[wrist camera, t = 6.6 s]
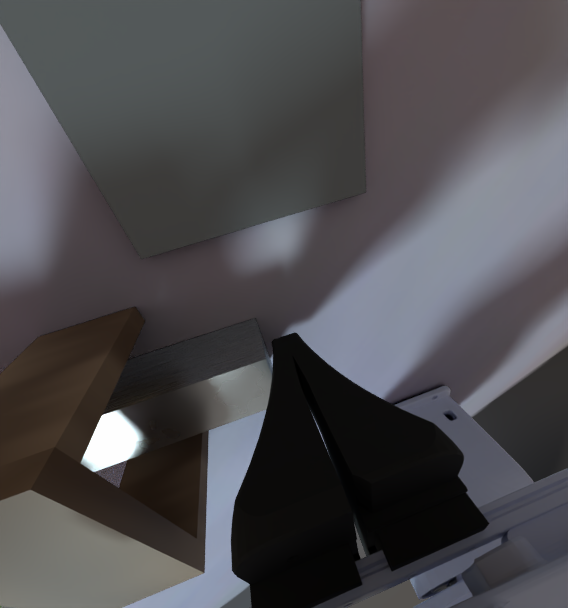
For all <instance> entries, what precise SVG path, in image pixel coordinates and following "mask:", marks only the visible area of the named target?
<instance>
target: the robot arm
mask: <svg viewBox="0 0 568 608" xmlns="http://www.w3.org/2000/svg"><path fill="white" fill-rule="evenodd" d="M272 346H273V371H272V381H271V388H270V395H269V400H268V405H267V410H266V414H265V418H264V422H263V425H262V429H261V433H260V436H259V439H258V442H257V445H256V448H255V451H254V454H253V457H252V460H251V462H250V465H249V468H248V470H247V473H246V475H245V478H244V480H243V482H242V485H241V487H240V490H239V492H238V495H237V497H236V499H235V504H234V511H233V519H232V532H231V553H232V571H233V573H234V574H235V575H236V576H237V577H238V578H240V579H242V580H244V581H245V582H247V583H249V584H250V590H251V591H250V592H251V604H252V607H251V608H348V607H350V606H352V605H354V604H356V603H359V602H361V601H363V600H365V599H367V598H370V597H372V596H374V595H376V594H378V593H381V592H383V591H385V590H387V589H389V588H391V587H394V586H396V585H398V584H400V583H402V582H405V581H407V580H409V579H410V581H411V583H412V585H413V588H414V590H415V592H416V594H417V596H418V598H419V600H421V599H426V598H429V597H431V596H432V597H431V598H429V599H427V600H426V601H424V602H422V603H420V604H418V605H416V606H414V607H413V608H568V468H567V469H565V470H562V471H560V472H558V473H556V474H553V475H551V476H549V477H547V478H544V479H542V480H540V481H537V482H535V483H534V482H533V481H532V479H531V478H530V477H529V476H528V474H527V473H526V472H525V471H524V470H523V469H522V468H521V467H520V465H519V464H518V463H517V462H516V461H514V459H512V457H511V456H510V455H509V454H508V453H507V452H506V451H505V450H504V449H503V448H502V447H501V446H500V445H499V444H498V443H497V442H495V440H494V439H493V438H491V436H489V434H488V433H486V431H484V430H483V429H482V428H481V427H480V426H479V425H478V424H477V423H476V422H475V421H474V420H473V419H472V418H471V417H470V416H469V415H468V414H467V413H466V412H465V411H464V410H463V409H462V408H461V407H460V406H459V405H458V404H457V403H456V402H455V401H454V400H453V399H452V398H451V397H450V392H451V390H450V389H449V388H448V387H447V386H442V387H439V388H437V389H434V390H432V391H429V392H426V393H424V394H421V395H419V396H416V397H414V398H411V399H408V400H406V401H403V402H401V403H398V404H395V405H393V404H390V403H388V402H387V401H385V400H383V399H381V398H379V397H377V396H376V395H374V394H372V393H370V392H368V391H366V390H365V389H363V388H362V387H360V386H358V385H357V384H355V383H354V382H352V381H351V380H349V379H348V378H346V377H345V376H343V375H342V374H340V373H339V372H338V371H336V370H335V369H334V368H333V367H331V366H330V365H329V364H327V363H326V362H325V361H324V360H323V359H322V358H320V357H319V356H318V355H317V354H316V353H315V352H314V351H313V350H312V349H311V348H310V347H309V346H308V345H307V344H306V343H305V342H304V341H303V340H302V339H301V338H300V336H299V335H298V334H297V333H292V334H289V335H286V336H283V337H280V338H277V339H274V340H273V341H272ZM311 412H312V413H311ZM312 414H313V415H312ZM313 416H314V418H315V420H314V418H313ZM315 421H316V423H317V425H318V427H319V429H320V432H321V434H322V437H323V439H324V442H325V444H324V442H323V440H322V437H321V435H320V432H319V430H318V427H317V425H316V423H315ZM325 445H326V447H327V449H326V447H325ZM327 450H328V451H327ZM328 453H329V454H328ZM329 455H330V456H329ZM354 523H355V526H356V529H357V532H358V534H359V537H360V540H361V543H362V545H363V548H364V551H365V554H366V556H367V557H365V558H363V559H360V556H359V553H358V548H357V543H356V539H357V537H356V531H355V526H354Z"/></svg>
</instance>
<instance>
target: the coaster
mask: <svg viewBox="0 0 568 608" xmlns="http://www.w3.org/2000/svg"><path fill="white" fill-rule="evenodd" d="M0 24H1V26H2V28H3V29H4V31H5V33H6V34H7V36H8V38H9V39H10V41H11V43H12V44H13V46H14V48H15V49H16V51H17V53H18V54H19V56H20V58H21V59H22V61H23V63H24V64H25V66H26V68H27V69H28V71H29V73H30V74H31V76H32V78H33V79H34V81H35V83H36V84H37V86H38V88H39V89H40V91H41V93H42V94H43V96H44V98H45V99H46V101H47V103H48V104H49V106H50V108H51V109H52V111H53V113H54V114H55V116H56V118H57V119H58V121H59V123H60V124H61V126H62V128H63V129H64V131H65V133H66V134H67V136H68V138H69V139H70V141H71V143H72V144H73V146H74V148H75V149H76V151H77V153H78V154H79V156H80V158H81V159H82V161H83V163H84V164H85V166H86V168H87V169H88V171H89V173H90V174H91V176H92V178H93V179H94V181H95V183H96V184H97V186H98V188H99V189H100V191H101V193H102V195H103V196H104V198H105V200H106V201H107V203H108V205H109V206H110V208H111V210H112V211H113V213H114V215H115V216H116V218H117V220H118V221H119V223H120V225H121V226H122V228H123V230H124V231H125V233H126V235H127V236H128V238H129V240H130V241H131V243H132V245H133V246H134V248H135V250H136V251H137V253H138V255H139V256H140V258H141V259H144V258H147V257H151V256H154V255H157V254H161V253H164V252H167V251H171V250H174V249H178V248H181V247H184V246H188V245H191V244H194V243H198V242H201V241H204V240H208V239H211V238H215V237H218V236H221V235H225V234H228V233H231V232H235V231H238V230H241V229H245V228H248V227H251V226H255V225H258V224H262V223H265V222H268V221H272V220H275V219H278V218H282V217H285V216H288V215H292V214H295V213H299V212H302V211H305V210H309V209H312V208H315V207H319V206H322V205H325V204H329V203H332V202H336V201H339V200H342V199H346V198H349V197H352V196H356V195H359V194H362V193H366V173H365V139H364V104H363V69H362V34H361V0H0Z"/></svg>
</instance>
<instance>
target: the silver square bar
mask: <svg viewBox="0 0 568 608" xmlns="http://www.w3.org/2000/svg"><path fill="white" fill-rule="evenodd" d="M272 371H273V367H272V364H271V360H270V357H269V354H268V351H267V349H266V346H265V343H264V340H263V338H262V335H261V332H260V329H259V326H258V324H257V321H256V318H254V319H251V320H248V321H245V322H242V323H239V324H236V325H233V326H230V327H227V328H224V329H220V330H217V331H214V332H211V333H208V334H205V335H202V336H199V337H196V338H193V339H190V340H187V341H184V342H181V343H178V344H175V345H172V346H168V347H165V348H162V349H159V350H156V351H153V352H150V353H147V354H144V355H141V356H138V357H135V358H132V359H129V360H127V362H126V364H125V366H124V369H123V371H122V373H121V375H120V377H119V380H118V382H117V384H116V386H115V388H114V391H113V393H112V395H111V397H110V399H109V402H108V404H107V406H106V408H105V410H104V413H103V415H102V417H101V419H100V421H99V424H98V426H97V428H96V430H95V432H94V435H93V437H92V439H91V441H90V443H89V446H88V448H87V450H86V452H85V454H84V457H83V459H82V461H81V463H80V464H82V465H84V466H85V467H87V468H88V469H90V470H91V471H93V472H95V471H98V470H101V469H104V468H106V467H109V466H112V465H115V464H117V463H120V462H123V461H126V460H128V459H131V458H134V457H137V456H139V455H142V454H145V453H148V452H150V451H153V450H156V449H159V448H161V447H164V446H167V445H170V444H172V443H175V442H178V441H181V440H183V439H186V438H189V437H192V436H194V435H197V434H200V433H203V432H205V431H208V430H211V429H214V428H216V427H219V426H222V425H225V424H227V423H230V422H233V421H236V420H238V419H241V418H244V417H247V416H249V415H252V414H255V413H258V412H260V411H263V410H266V409H267V405H268V400H269V395H270V388H271V381H272Z"/></svg>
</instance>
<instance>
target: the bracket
mask: <svg viewBox="0 0 568 608" xmlns="http://www.w3.org/2000/svg"><path fill="white" fill-rule="evenodd" d="M144 322H145V320H144V319H143V317H142V316H141V314H140V313H139V312H138V310H137V309H136V307H132V308H129V309H126V310H123V311H119V312H116V313H113V314H110V315H107V316H103V317H100V318H97V319H94V320H91V321H88V322H84V323H81V324H78V325H75V326H72V327H68V328H65V329H62V330H59V331H56V332H53V333H49V334H46V335H43V336H40V337H38V338H37V339H36V340H35V341H34V342H33V343H32V344H30V345H29V346H28V347H27V348H26V349H25V350H24V351H23V352H22V353H21V354H20V355H19V356H18V357H17V358H16V359H15V360H14V361H13V362H12V363H11V364H10V365H9V366H8V367H7V368H6V369H5V370H4V371H3V372H2V373H1V374H0V606H6V607H13V608H122V607H125V606H127V605H129V604H132V603H134V602H136V601H139V600H141V599H144V598H146V597H148V596H151V595H153V594H156V593H158V592H160V591H163V590H165V589H167V588H170V587H172V586H175V585H177V584H179V583H182V582H184V581H186V580H189V579H191V578H194V577H196V576H198V575H201V574H203V573H204V570H205V536H206V502H207V468H208V434H209V430H208V431H205V432H203V433H200V434H197V435H194V436H192V437H189V438H186V439H183V440H181V441H178V442H175V443H172V444H170V445H167V446H164V447H161V448H159V449H156V450H153V451H150V452H148V453H145V454H142V455H139V456H137V457H134V458H131V459H128V460H127V463H126V467H125V470H124V473H123V477H122V480H121V483H120V487H119V488H118V487H116V486H114V485H113V484H111V483H110V482H108V481H107V480H105V479H104V478H102V477H101V476H99V475H97V474H96V473H94V472H93V471H91V470H90V469H88V468H87V467H85V466H84V465H82V464H80V463H81V461H82V459H83V457H84V454H85V452H86V450H87V448H88V446H89V443H90V441H91V439H92V437H93V435H94V432H95V430H96V428H97V426H98V424H99V421H100V419H101V417H102V415H103V413H104V410H105V408H106V406H107V404H108V402H109V399H110V397H111V395H112V393H113V391H114V388H115V386H116V384H117V382H118V380H119V377H120V375H121V373H122V371H123V369H124V366H125V364H126V362H127V360H128V358H129V355H130V353H131V351H132V349H133V347H134V344H135V342H136V340H137V338H138V336H139V333H140V331H141V329H142V327H143V325H144Z"/></svg>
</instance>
